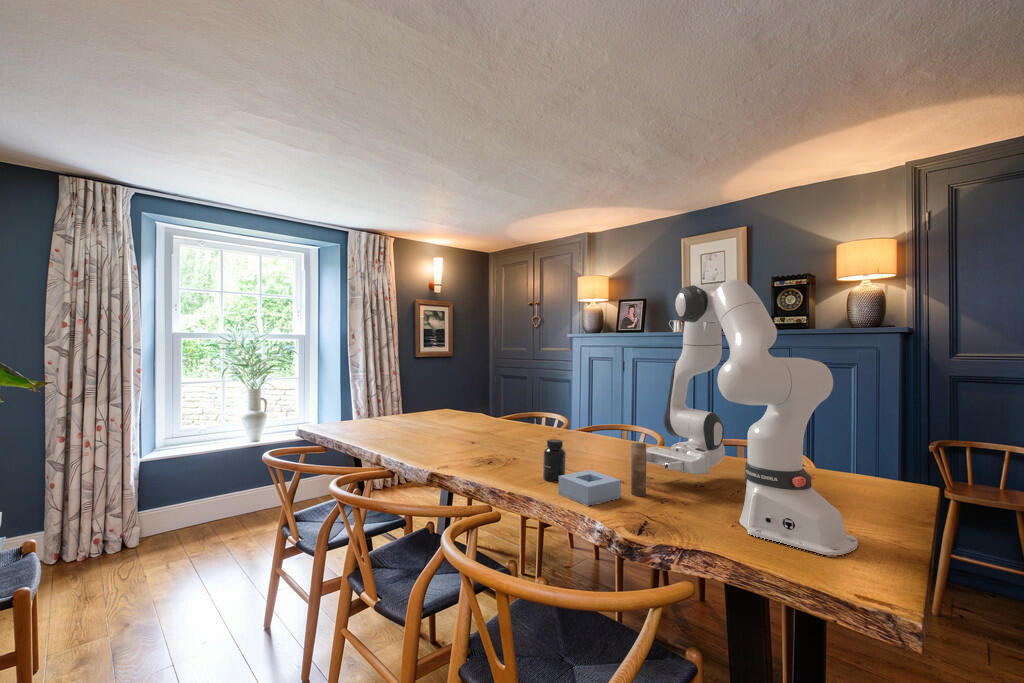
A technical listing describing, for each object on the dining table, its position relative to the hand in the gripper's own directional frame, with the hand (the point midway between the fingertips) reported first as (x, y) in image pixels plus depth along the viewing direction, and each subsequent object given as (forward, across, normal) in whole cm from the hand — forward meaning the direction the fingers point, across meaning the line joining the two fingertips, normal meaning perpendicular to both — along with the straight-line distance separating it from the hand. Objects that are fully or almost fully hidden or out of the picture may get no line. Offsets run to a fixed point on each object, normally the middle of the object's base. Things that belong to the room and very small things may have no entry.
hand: (653, 462), depth 132 cm
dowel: (+6, 0, +8) cm, 10 cm away
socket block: (+19, -6, +8) cm, 22 cm away
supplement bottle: (+17, -24, +8) cm, 31 cm away
